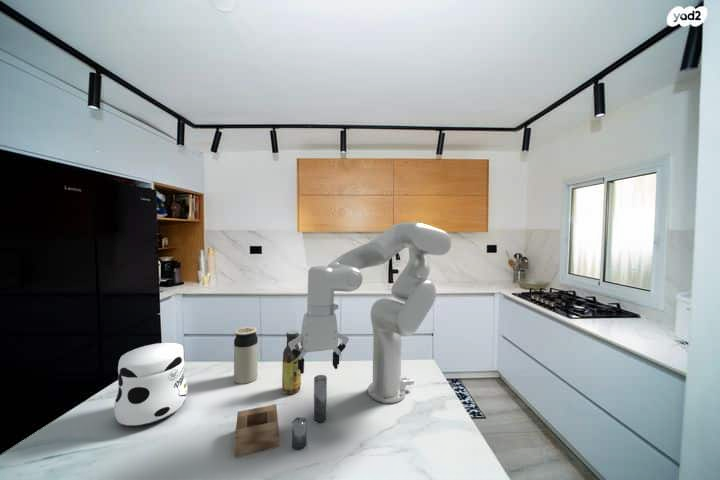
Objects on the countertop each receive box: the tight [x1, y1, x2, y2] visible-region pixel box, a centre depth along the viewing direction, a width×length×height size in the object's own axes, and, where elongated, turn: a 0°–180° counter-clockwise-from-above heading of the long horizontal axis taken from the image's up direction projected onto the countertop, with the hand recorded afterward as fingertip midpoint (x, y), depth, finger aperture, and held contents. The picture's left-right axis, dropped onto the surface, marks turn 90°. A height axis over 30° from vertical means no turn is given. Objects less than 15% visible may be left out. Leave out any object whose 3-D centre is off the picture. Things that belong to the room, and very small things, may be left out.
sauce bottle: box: [281, 329, 302, 395], centre depth 95 cm, size 6×6×20 cm
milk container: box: [113, 342, 188, 427], centre depth 83 cm, size 17×17×18 cm
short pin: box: [291, 416, 308, 451], centre depth 71 cm, size 4×4×6 cm
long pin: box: [313, 374, 328, 424], centre depth 81 cm, size 4×4×12 cm
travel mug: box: [233, 326, 259, 385], centre depth 103 cm, size 8×8×18 cm
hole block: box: [234, 404, 280, 458], centre depth 73 cm, size 10×10×5 cm
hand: (318, 369), depth 80 cm, fingers open, 9 cm apart
